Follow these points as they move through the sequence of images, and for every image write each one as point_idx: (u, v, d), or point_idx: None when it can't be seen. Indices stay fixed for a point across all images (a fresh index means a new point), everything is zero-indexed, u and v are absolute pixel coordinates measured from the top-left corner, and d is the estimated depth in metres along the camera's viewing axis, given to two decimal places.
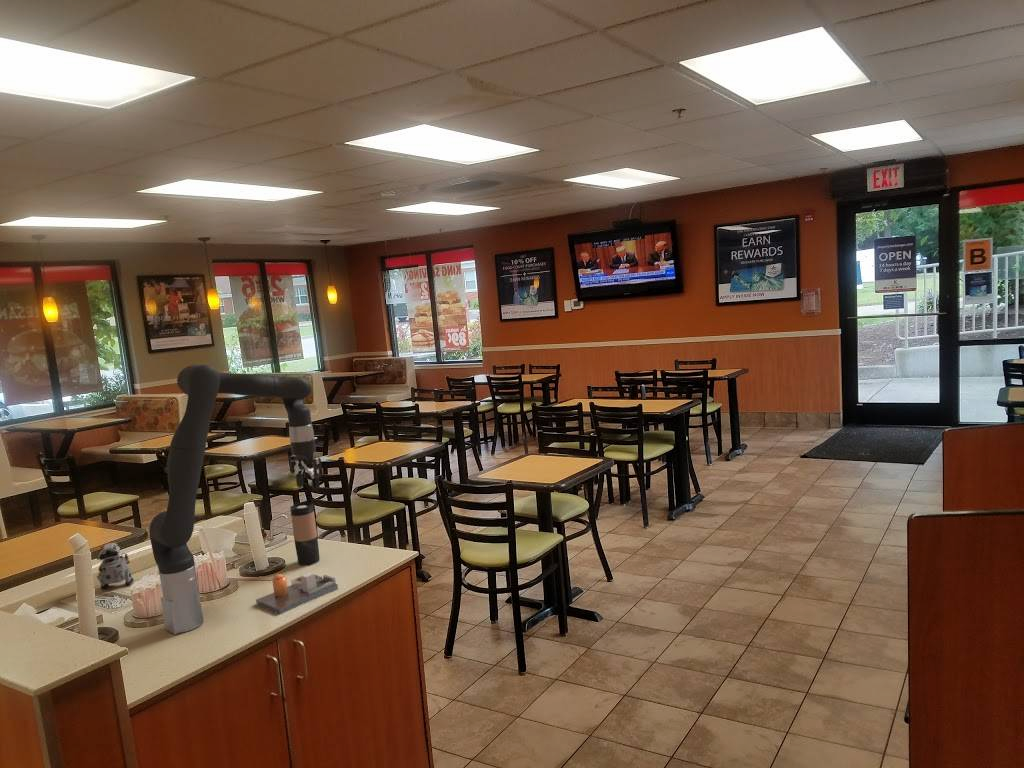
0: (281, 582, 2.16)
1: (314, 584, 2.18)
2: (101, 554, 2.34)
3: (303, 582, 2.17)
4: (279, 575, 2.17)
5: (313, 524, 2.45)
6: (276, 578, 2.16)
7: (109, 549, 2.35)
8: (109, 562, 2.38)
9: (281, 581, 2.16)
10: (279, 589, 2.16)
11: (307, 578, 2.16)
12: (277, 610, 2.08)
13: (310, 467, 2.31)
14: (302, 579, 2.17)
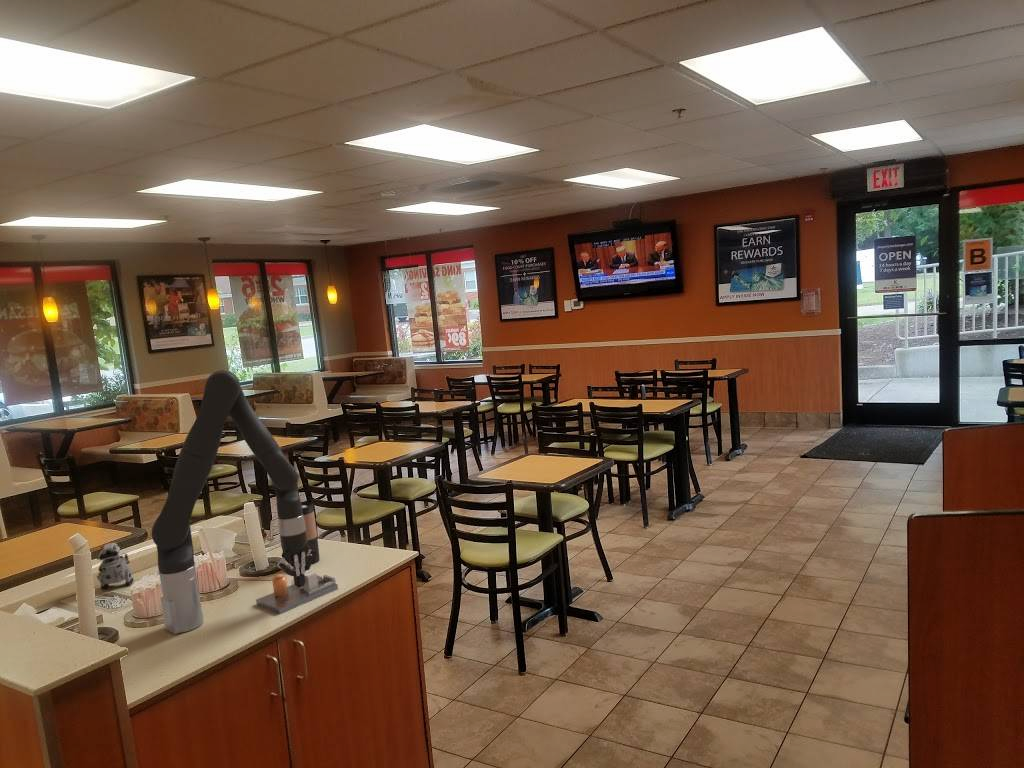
0: (281, 582, 2.16)
1: (316, 583, 2.18)
2: (101, 554, 2.34)
3: (305, 581, 2.17)
4: (279, 575, 2.17)
5: (313, 524, 2.45)
6: (276, 578, 2.16)
7: (109, 549, 2.35)
8: (109, 562, 2.38)
9: (281, 581, 2.16)
10: (279, 589, 2.16)
11: (309, 577, 2.16)
12: (277, 610, 2.08)
13: None
14: None
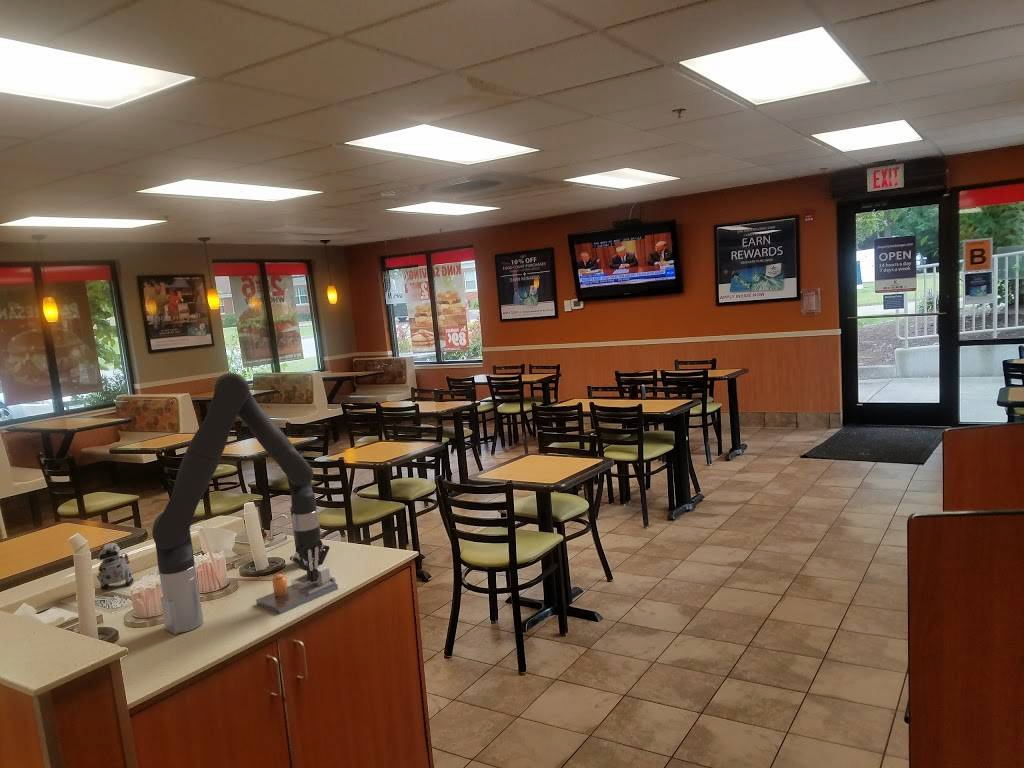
0: (281, 582, 2.16)
1: (328, 578, 2.21)
2: (101, 554, 2.34)
3: None
4: (279, 575, 2.17)
5: None
6: (276, 578, 2.16)
7: (109, 549, 2.35)
8: (109, 562, 2.38)
9: (281, 581, 2.16)
10: (279, 589, 2.16)
11: (321, 572, 2.19)
12: (277, 610, 2.08)
13: None
14: None
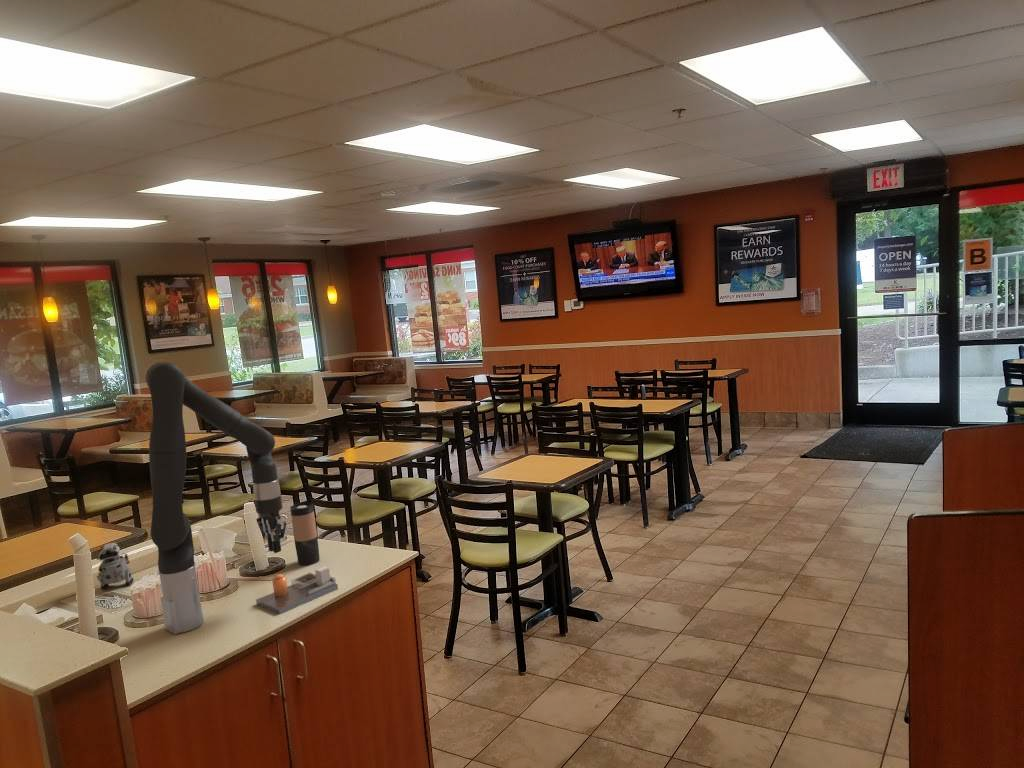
0: (281, 582, 2.16)
1: (328, 578, 2.21)
2: (101, 554, 2.34)
3: (317, 576, 2.21)
4: (279, 575, 2.17)
5: (313, 524, 2.45)
6: (276, 578, 2.16)
7: (109, 549, 2.35)
8: (109, 562, 2.38)
9: (281, 581, 2.16)
10: (279, 589, 2.16)
11: (321, 572, 2.19)
12: (277, 610, 2.08)
13: None
14: (316, 573, 2.21)
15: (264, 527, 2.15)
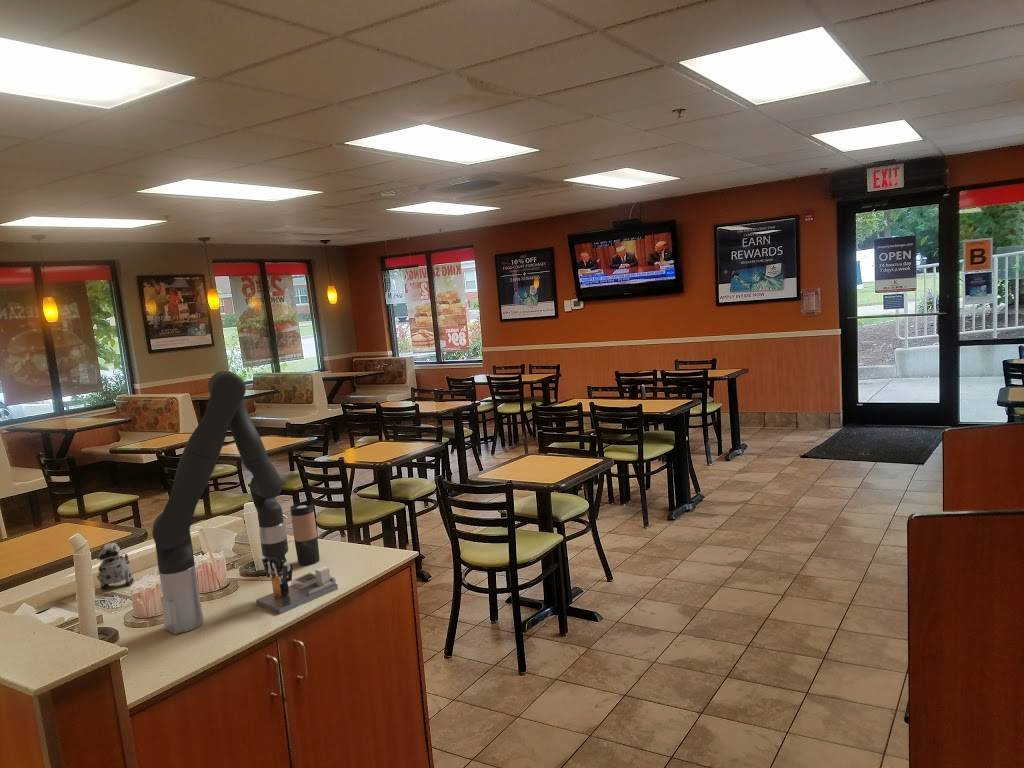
0: None
1: (328, 578, 2.21)
2: (101, 554, 2.34)
3: (317, 576, 2.21)
4: None
5: (313, 524, 2.45)
6: (276, 578, 2.16)
7: (109, 549, 2.35)
8: (109, 562, 2.38)
9: None
10: (279, 589, 2.16)
11: (321, 572, 2.19)
12: (277, 610, 2.08)
13: None
14: (316, 573, 2.21)
15: (269, 569, 2.17)
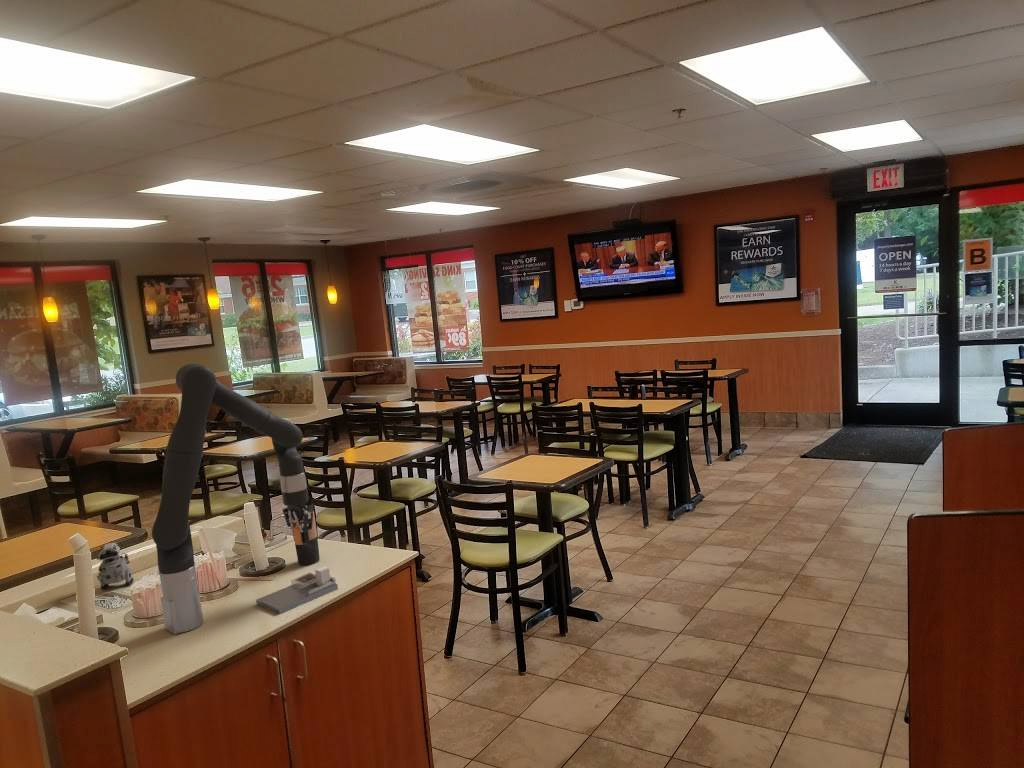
0: None
1: (328, 578, 2.21)
2: (101, 554, 2.34)
3: (317, 576, 2.21)
4: None
5: (313, 524, 2.45)
6: (297, 527, 2.21)
7: (109, 549, 2.35)
8: (109, 562, 2.38)
9: None
10: (300, 537, 2.21)
11: (321, 572, 2.19)
12: (277, 610, 2.08)
13: None
14: (316, 573, 2.21)
15: (290, 518, 2.22)
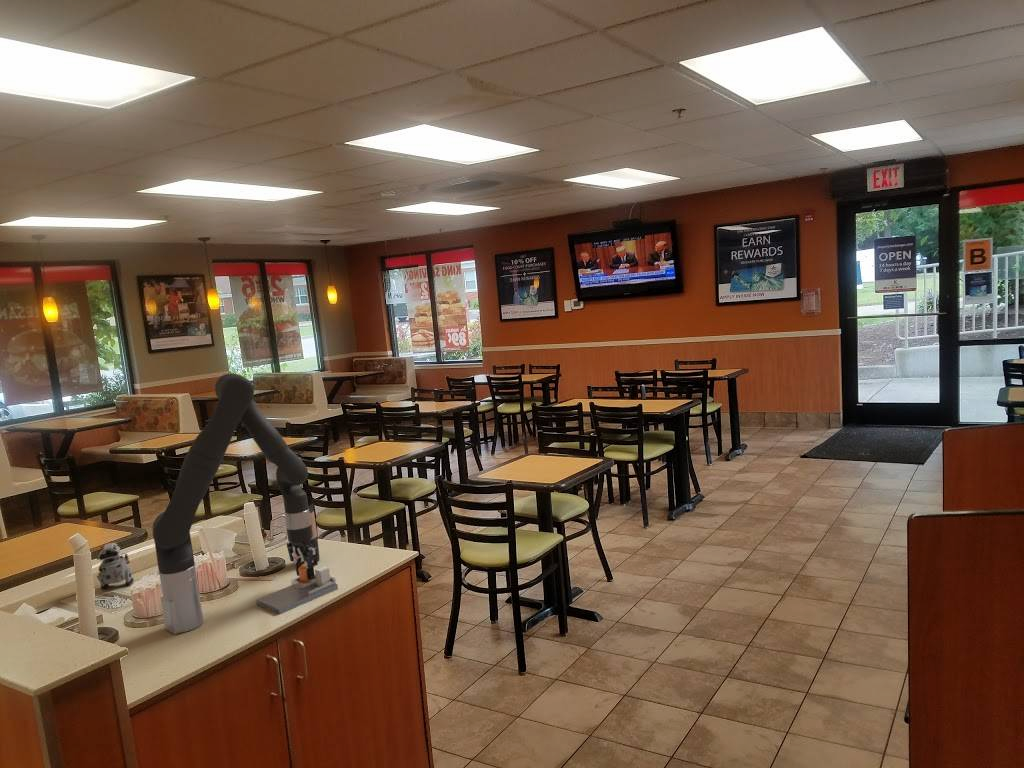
0: None
1: (328, 578, 2.21)
2: (101, 554, 2.34)
3: (317, 576, 2.21)
4: None
5: (313, 524, 2.45)
6: (302, 567, 2.23)
7: (109, 549, 2.35)
8: (109, 562, 2.38)
9: None
10: (305, 578, 2.22)
11: (321, 572, 2.19)
12: (277, 610, 2.08)
13: None
14: (316, 573, 2.21)
15: (294, 554, 2.24)
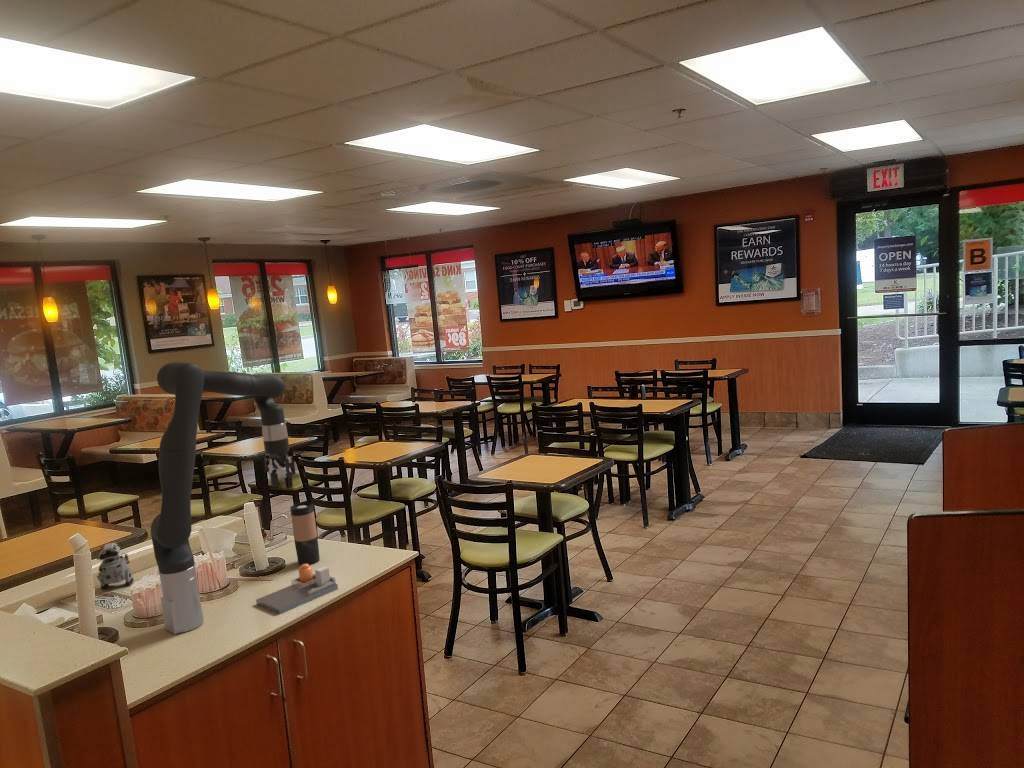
0: (307, 571, 2.22)
1: (328, 578, 2.21)
2: (101, 554, 2.34)
3: (317, 576, 2.21)
4: (305, 564, 2.24)
5: (313, 524, 2.45)
6: (302, 567, 2.23)
7: (109, 549, 2.35)
8: (109, 562, 2.38)
9: (307, 570, 2.22)
10: (305, 578, 2.22)
11: (321, 572, 2.19)
12: (277, 610, 2.08)
13: None
14: (316, 573, 2.21)
15: (270, 466, 2.32)
